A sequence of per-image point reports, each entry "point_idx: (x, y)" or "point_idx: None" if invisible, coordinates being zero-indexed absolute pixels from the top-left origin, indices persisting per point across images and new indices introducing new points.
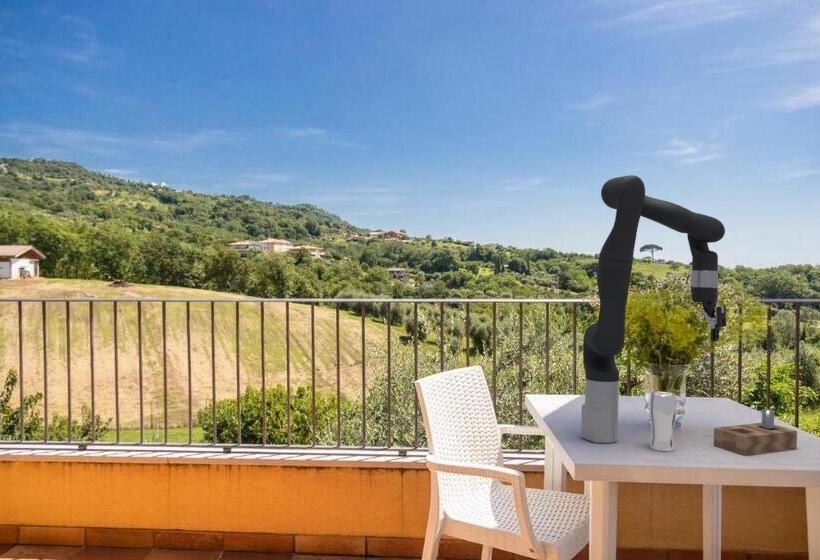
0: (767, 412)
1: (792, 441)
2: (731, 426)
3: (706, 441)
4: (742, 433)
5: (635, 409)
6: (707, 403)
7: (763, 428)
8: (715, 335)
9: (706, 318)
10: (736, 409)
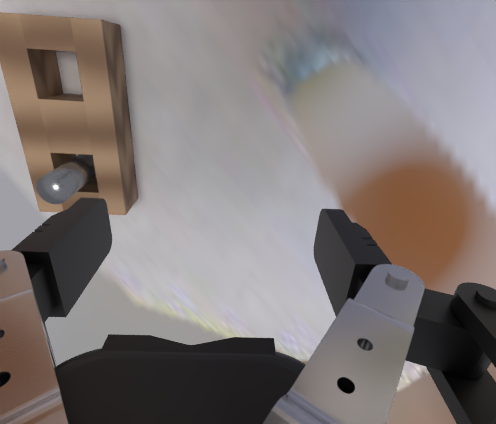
0: (43, 176)
1: None
2: (105, 92)
3: (159, 47)
4: (28, 45)
5: (469, 154)
6: None
7: (75, 159)
8: (42, 228)
9: (18, 329)
10: None
